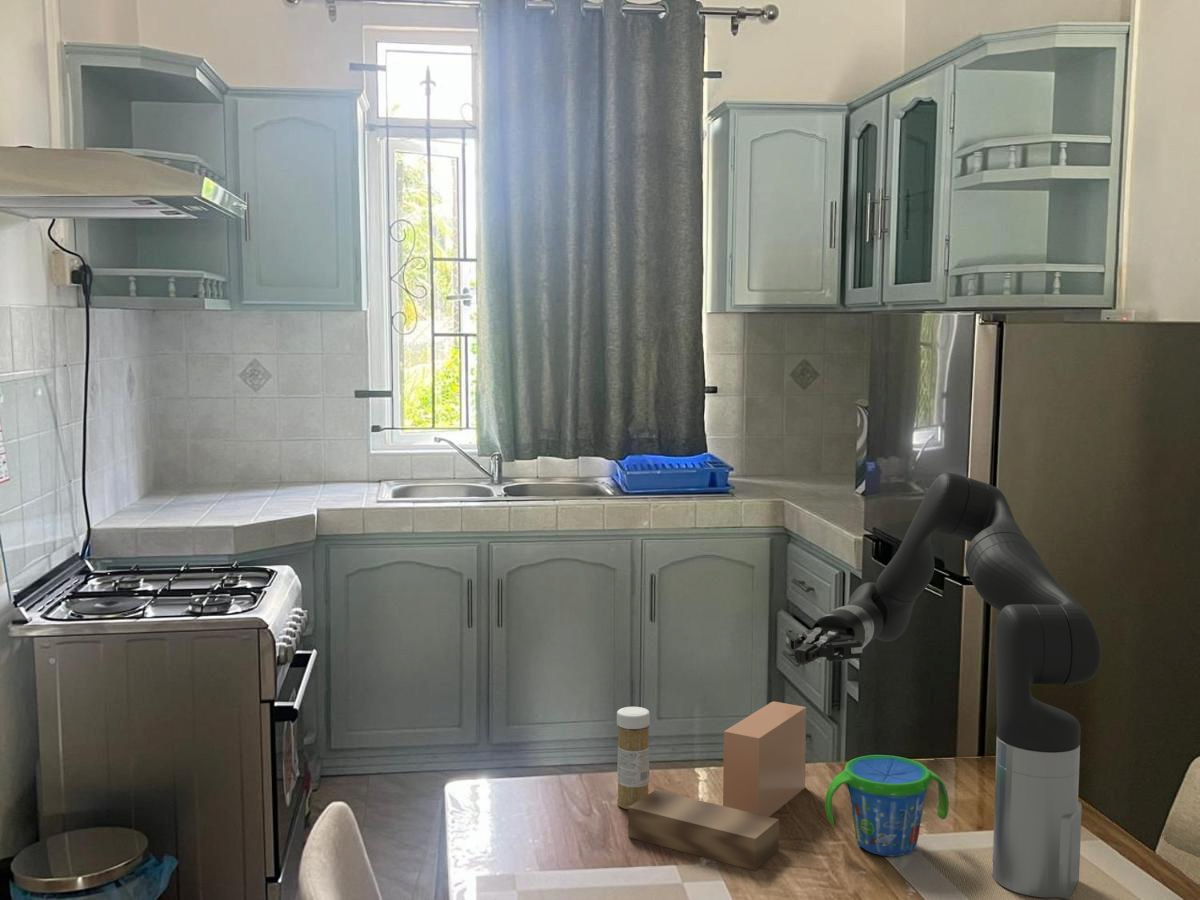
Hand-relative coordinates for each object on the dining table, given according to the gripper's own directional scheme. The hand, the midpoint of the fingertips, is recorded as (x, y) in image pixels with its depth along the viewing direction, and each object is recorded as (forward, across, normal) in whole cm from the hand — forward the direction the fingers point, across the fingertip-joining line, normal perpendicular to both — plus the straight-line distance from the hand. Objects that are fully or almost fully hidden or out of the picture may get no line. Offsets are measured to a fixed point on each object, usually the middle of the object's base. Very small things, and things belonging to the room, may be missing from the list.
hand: (801, 656), depth 169 cm
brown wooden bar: (+29, -1, +18) cm, 34 cm away
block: (+12, 0, +18) cm, 22 cm away
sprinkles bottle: (+23, -15, +18) cm, 33 cm away
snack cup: (+17, +19, +18) cm, 31 cm away
